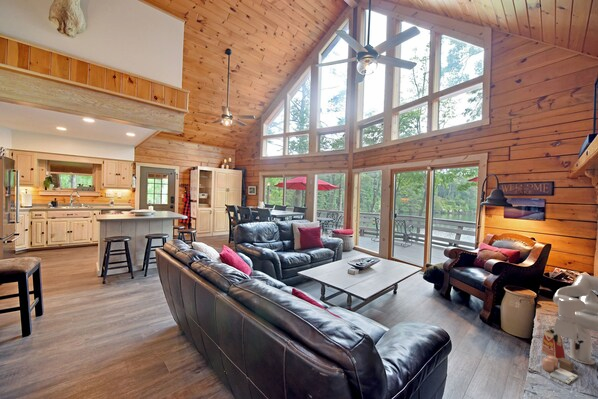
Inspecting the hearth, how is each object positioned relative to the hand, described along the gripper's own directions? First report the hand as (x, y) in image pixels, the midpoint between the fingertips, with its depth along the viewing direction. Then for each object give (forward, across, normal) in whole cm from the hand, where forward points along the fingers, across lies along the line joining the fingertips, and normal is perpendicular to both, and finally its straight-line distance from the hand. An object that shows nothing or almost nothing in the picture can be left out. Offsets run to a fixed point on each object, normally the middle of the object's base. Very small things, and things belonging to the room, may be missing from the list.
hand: (566, 345), depth 161 cm
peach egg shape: (+15, -4, -6) cm, 17 cm away
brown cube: (+15, 0, 0) cm, 15 cm away
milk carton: (+15, -10, +12) cm, 21 cm away
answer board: (+15, +2, -12) cm, 19 cm away
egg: (+15, -4, -12) cm, 20 cm away
